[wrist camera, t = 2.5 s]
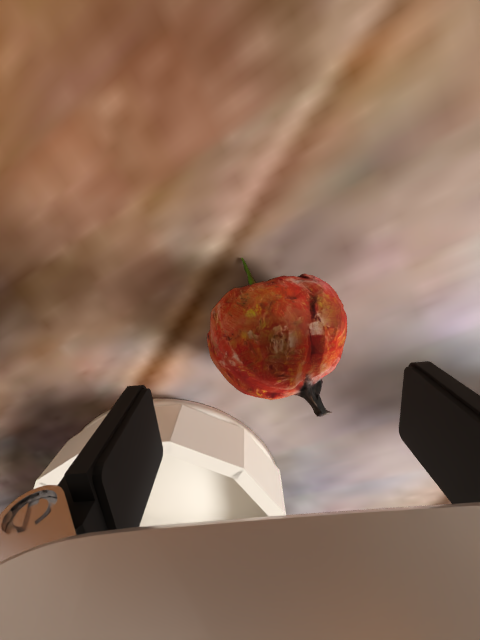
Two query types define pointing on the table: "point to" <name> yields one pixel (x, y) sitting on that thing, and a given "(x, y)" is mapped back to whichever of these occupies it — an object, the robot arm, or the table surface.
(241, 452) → the fruit bowl
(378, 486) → the table surface
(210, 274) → the table surface
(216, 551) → the robot arm
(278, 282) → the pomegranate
